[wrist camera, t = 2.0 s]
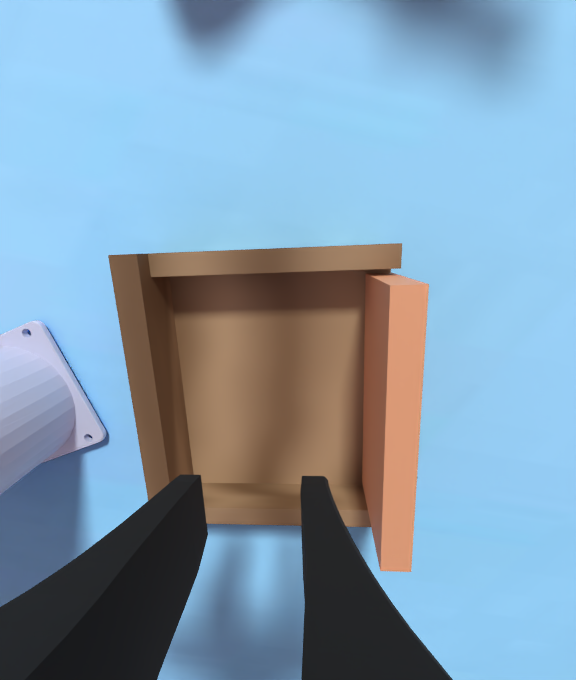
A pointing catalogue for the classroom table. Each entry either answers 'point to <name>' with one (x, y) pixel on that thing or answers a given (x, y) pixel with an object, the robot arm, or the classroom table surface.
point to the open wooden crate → (250, 373)
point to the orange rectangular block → (392, 411)
